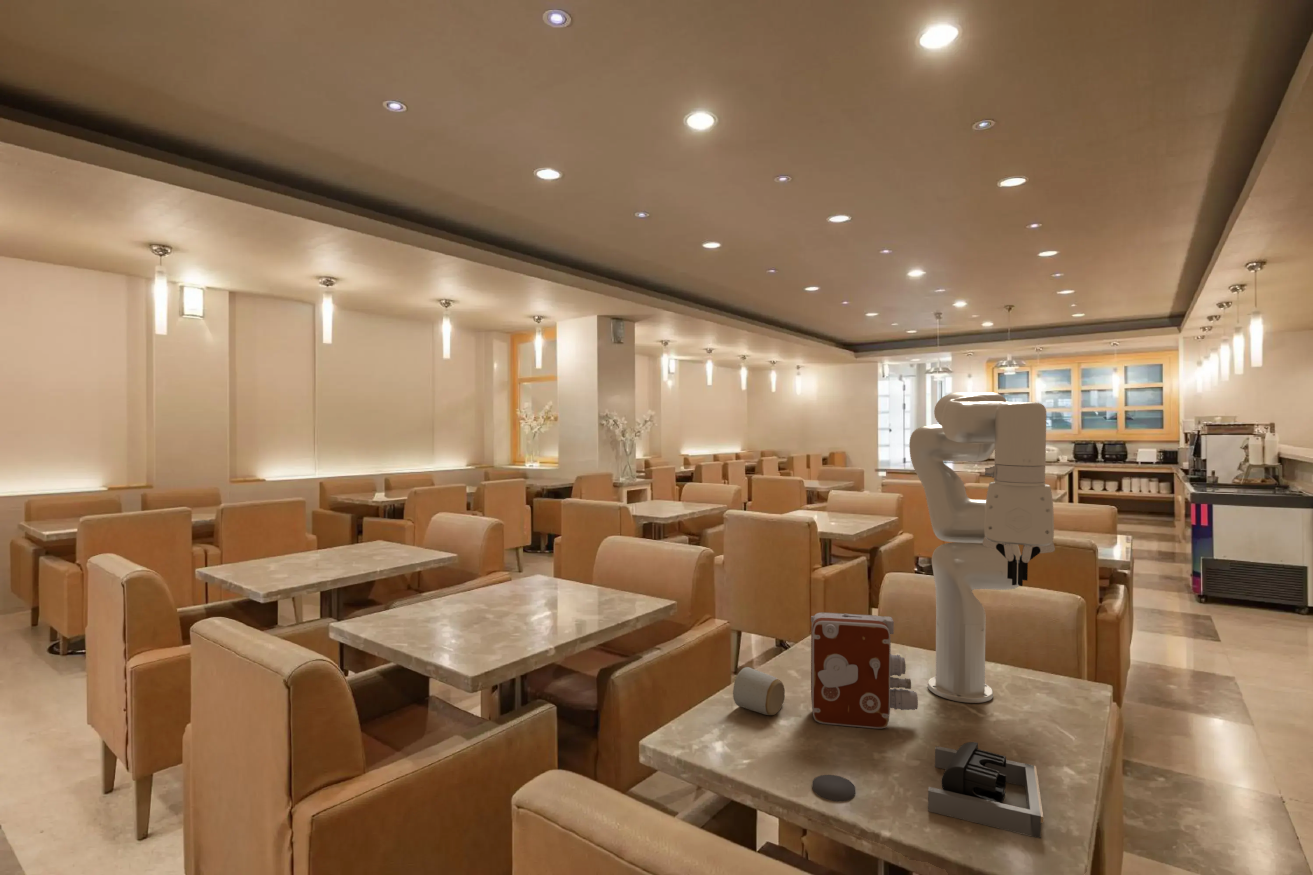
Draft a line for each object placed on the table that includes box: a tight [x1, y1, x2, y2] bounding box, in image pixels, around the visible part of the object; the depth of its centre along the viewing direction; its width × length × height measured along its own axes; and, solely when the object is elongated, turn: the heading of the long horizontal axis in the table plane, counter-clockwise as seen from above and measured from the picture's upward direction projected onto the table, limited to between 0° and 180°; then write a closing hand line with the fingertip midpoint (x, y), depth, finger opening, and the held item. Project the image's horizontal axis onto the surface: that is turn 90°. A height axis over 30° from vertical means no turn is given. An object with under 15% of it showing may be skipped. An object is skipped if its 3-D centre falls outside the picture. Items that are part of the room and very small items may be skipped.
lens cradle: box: [927, 745, 1044, 839], centre depth 100 cm, size 15×14×3 cm
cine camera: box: [810, 611, 919, 729], centre depth 126 cm, size 9×19×20 cm, turn 78°
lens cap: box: [811, 774, 856, 802], centre depth 102 cm, size 6×6×1 cm
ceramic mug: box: [732, 666, 786, 716], centre depth 132 cm, size 11×8×8 cm
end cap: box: [941, 741, 1007, 804], centre depth 100 cm, size 10×7×7 cm
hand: (1017, 583), depth 112 cm, fingers closed
